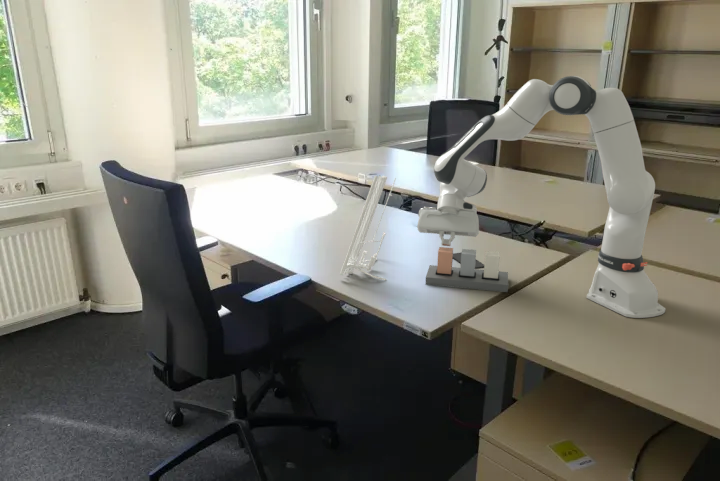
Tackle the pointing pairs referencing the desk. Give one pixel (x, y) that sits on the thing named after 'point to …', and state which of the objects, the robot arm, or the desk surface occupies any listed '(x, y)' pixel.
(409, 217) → the desk surface
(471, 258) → the key slate
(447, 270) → the key terracotta
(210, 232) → the desk surface
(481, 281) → the keypad base
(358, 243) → the white display easel
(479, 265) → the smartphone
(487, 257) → the key ivory
